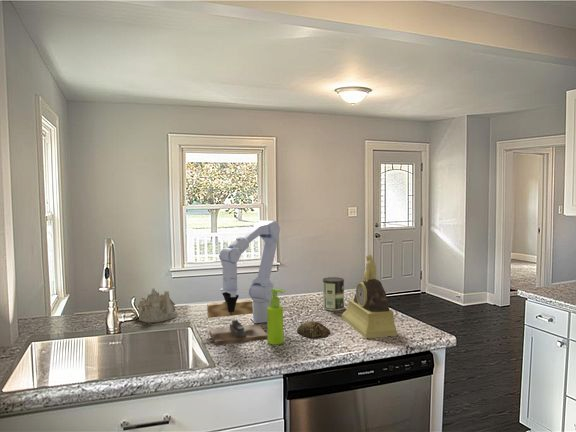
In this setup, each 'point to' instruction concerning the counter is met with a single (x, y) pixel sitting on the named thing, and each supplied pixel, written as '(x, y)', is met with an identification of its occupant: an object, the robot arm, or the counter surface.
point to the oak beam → (222, 309)
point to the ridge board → (231, 338)
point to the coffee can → (333, 293)
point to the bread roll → (313, 329)
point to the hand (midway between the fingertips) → (230, 310)
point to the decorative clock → (370, 307)
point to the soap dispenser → (275, 319)
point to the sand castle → (156, 307)
